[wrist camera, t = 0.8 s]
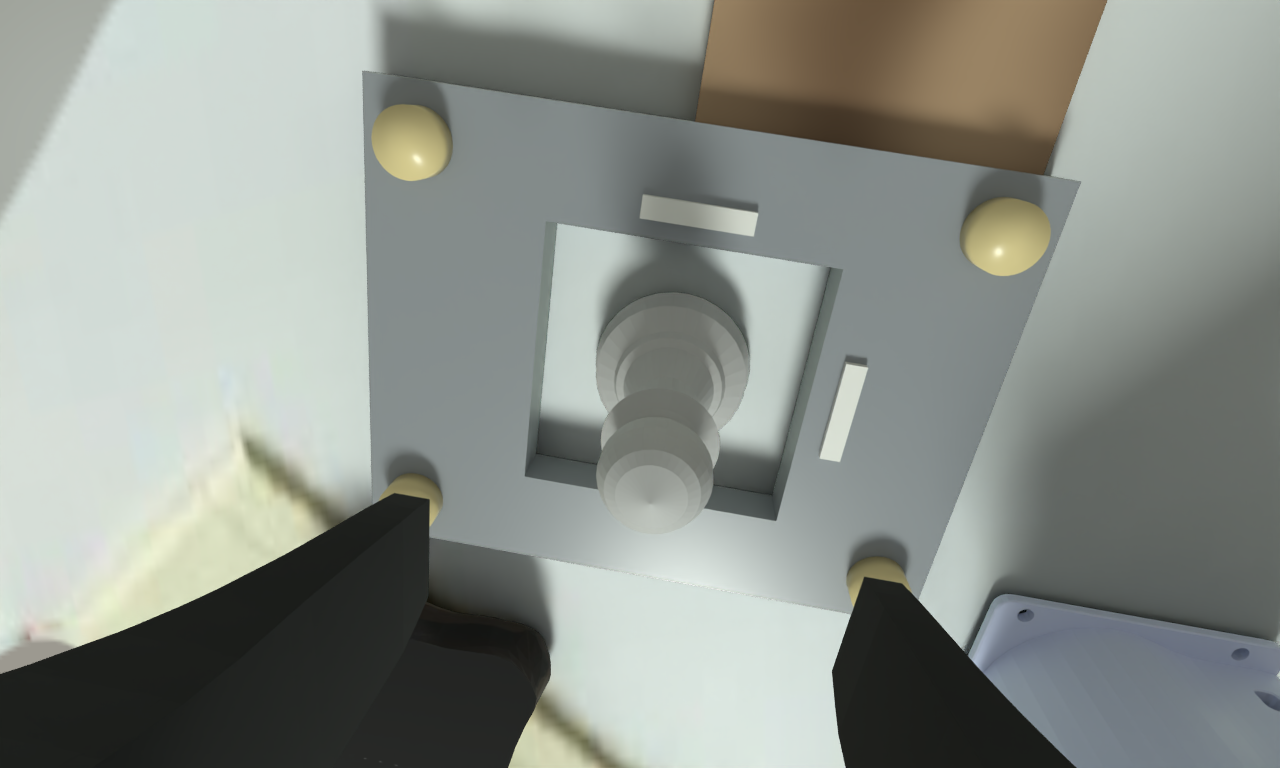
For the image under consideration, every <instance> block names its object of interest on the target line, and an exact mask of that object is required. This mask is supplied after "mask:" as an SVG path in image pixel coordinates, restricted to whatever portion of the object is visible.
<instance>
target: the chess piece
mask: <svg viewBox="0 0 1280 768" xmlns="http://www.w3.org/2000/svg"><path fill="white" fill-rule="evenodd" d="M749 372H750V364H749V353H748V349H747V345H746V342H745V340H744V338H743V336H742V333H741V331H740V329H739V328H738V327H737V325H736V324H735V323H734V321H733V320H732V319H731V317H729V316H728V315H727V314H726V313H725V312H724V311H723V310H721V309H720V308H719V307H718V306H716V305H714V304H712V303H711V302H709V301H707V300H705V299H703V298H700V297H697V296H694V295H691V294H685V293H677V292H668V293H657V294H653V295H649V296H645V297H643V298H640V299H638V300H636V301H634V302H632V303H630V304H629V305H627V306H626V307H625V308H623V309H622V310H621V311H619V312H618V313H617V314H616V315H615V317H614V318H613V319H612V320H611V321H610V322H609V323H608V325H607V327H606V329H605V330H604V332H603V334H602V336H601V339H600V342H599V345H598V348H597V356H596V380H597V389H598V392H599V395H600V398H601V401H602V403H603V405H604V406H605V408H606V410H607V412H608V413H609V414H608V416H607V417H606V419H605V421H604V424H603V427H602V431H601V448H602V452H601V455H600V458H599V461H598V464H597V471H596V479H597V486H598V490H599V493H600V496H601V499H602V501H603V502H604V504H605V506H606V507H607V509H608V510H609V511H610V513H611V514H612V515H613V516H614V517H615V518H616V519H617V520H618V521H620V522H621V523H622V524H623V525H625V526H627V527H628V528H630V529H632V530H635V531H638V532H641V533H647V534H664V533H669V532H672V531H675V530H677V529H680V528H682V527H683V526H685V525H687V524H688V523H690V522H691V521H693V520H694V519H695V518H696V517H697V516H698V515H699V514H700V513H701V511H702V510H703V509H704V507H705V506H706V504H707V503H708V500H709V498H710V496H711V493H712V488H713V468H714V466H715V464H716V462H717V459H718V456H719V451H720V436H719V432H718V431H719V430H720V429H721V428H722V427H723V426H725V425H726V424H727V423H728V422H729V421H730V420H731V418H732V417H733V415H734V414H735V412H736V411H737V410H738V408H739V405H740V403H741V401H742V398H743V395H744V391H745V389H746V386H747V383H748V377H749Z"/></svg>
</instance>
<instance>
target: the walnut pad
mask: <svg viewBox="0 0 1280 768" xmlns="http://www.w3.org/2000/svg"><path fill="white" fill-rule="evenodd" d="M1106 3H1107V0H715V1H714V7H713V13H712V20H711V26H710V32H709V38H708V44H707V50H706V57H705V63H704V69H703V75H702V81H701V87H700V94H699V100H698V106H697V112H696V118H695V122H701V123H708V124H714V125H721V126H727V127H734V128H740V129H747V130H753V131H760V132H766V133H773V134H779V135H786V136H792V137H798V138H805V139H811V140H818V141H824V142H831V143H837V144H844V145H850V146H857V147H863V148H870V149H876V150H883V151H889V152H896V153H902V154H909V155H915V156H922V157H928V158H935V159H941V160H947V161H954V162H960V163H967V164H973V165H980V166H986V167H993V168H999V169H1006V170H1012V171H1019V172H1025V173H1032V174H1038V175H1043V174H1044V172H1045V169H1046V166H1047V164H1048V161H1049V158H1050V155H1051V153H1052V150H1053V147H1054V144H1055V142H1056V139H1057V136H1058V134H1059V131H1060V128H1061V125H1062V123H1063V120H1064V117H1065V114H1066V112H1067V109H1068V106H1069V104H1070V101H1071V98H1072V95H1073V93H1074V90H1075V87H1076V84H1077V82H1078V79H1079V76H1080V74H1081V71H1082V68H1083V65H1084V63H1085V60H1086V57H1087V54H1088V52H1089V49H1090V46H1091V44H1092V41H1093V38H1094V35H1095V33H1096V30H1097V27H1098V24H1099V22H1100V19H1101V16H1102V14H1103V11H1104V8H1105V5H1106Z"/></svg>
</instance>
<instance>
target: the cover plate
mask: <svg viewBox="0 0 1280 768" xmlns="http://www.w3.org/2000/svg"><path fill="white" fill-rule="evenodd" d="M362 76H363V120H364V164H365V208H366V252H367V296H368V341H369V385H370V429H371V473H372V505H373V504H375V503H376V502H378V501H380V500H382V499H384V498H386V497H387V496H389V495H391V494H393V493H398V494H404V495H409V496H415V497H420V498H426V499H430V523H429V537H430V538H436V539H441V540H447V541H452V542H458V543H463V544H469V545H474V546H480V547H485V548H491V549H496V550H501V551H507V552H512V553H518V554H523V555H529V556H534V557H540V558H545V559H551V560H556V561H562V562H567V563H573V564H578V565H584V566H589V567H595V568H600V569H606V570H611V571H617V572H622V573H628V574H633V575H639V576H644V577H650V578H655V579H661V580H666V581H672V582H677V583H683V584H688V585H694V586H699V587H705V588H710V589H716V590H721V591H726V592H732V593H737V594H743V595H748V596H754V597H759V598H765V599H770V600H776V601H781V602H787V603H792V604H798V605H803V606H809V607H814V608H820V609H825V610H831V611H836V612H842V613H847V614H852V611H853V608H854V605H855V602H856V599H857V596H858V593H859V590H860V587H861V584H862V581H863V579H864V577H869V578H875V579H881V580H886V581H892V582H898V583H902V584H903V585H904V586H905V587H906V588H907V589H908V590H909V591H910V592H911V593H912V594H913V595H914V596H915V597H916V598H917V599H919V596H920V594H921V591H922V589H923V586H924V583H925V581H926V578H927V576H928V573H929V571H930V568H931V566H932V563H933V560H934V558H935V555H936V553H937V550H938V548H939V545H940V542H941V540H942V537H943V535H944V532H945V530H946V527H947V524H948V522H949V519H950V517H951V514H952V512H953V509H954V507H955V504H956V501H957V499H958V496H959V494H960V491H961V489H962V486H963V483H964V481H965V478H966V476H967V473H968V471H969V468H970V466H971V463H972V460H973V458H974V455H975V453H976V450H977V448H978V445H979V442H980V440H981V437H982V435H983V432H984V430H985V427H986V425H987V422H988V419H989V417H990V414H991V412H992V409H993V407H994V404H995V401H996V399H997V396H998V394H999V391H1000V389H1001V386H1002V383H1003V381H1004V378H1005V376H1006V373H1007V371H1008V368H1009V366H1010V363H1011V360H1012V358H1013V355H1014V353H1015V350H1016V348H1017V345H1018V342H1019V340H1020V337H1021V335H1022V332H1023V330H1024V327H1025V325H1026V322H1027V319H1028V317H1029V314H1030V312H1031V309H1032V307H1033V304H1034V301H1035V299H1036V296H1037V294H1038V291H1039V289H1040V286H1041V284H1042V281H1043V278H1044V276H1045V273H1046V271H1047V268H1048V266H1049V263H1050V260H1051V258H1052V255H1053V253H1054V250H1055V248H1056V245H1057V242H1058V240H1059V237H1060V235H1061V232H1062V230H1063V227H1064V225H1065V222H1066V219H1067V217H1068V214H1069V212H1070V209H1071V207H1072V204H1073V201H1074V199H1075V196H1076V194H1077V191H1078V189H1079V186H1080V184H1081V182H1080V181H1075V180H1069V179H1064V178H1058V177H1053V176H1047V175H1038V174H1032V173H1025V172H1019V171H1012V170H1006V169H999V168H993V167H986V166H980V165H973V164H967V163H960V162H954V161H947V160H941V159H935V158H928V157H922V156H915V155H909V154H902V153H896V152H889V151H883V150H876V149H870V148H863V147H857V146H850V145H844V144H837V143H831V142H824V141H818V140H811V139H805V138H798V137H792V136H786V135H779V134H773V133H766V132H760V131H753V130H747V129H740V128H734V127H727V126H721V125H714V124H708V123H701V122H695V121H690V120H684V119H677V118H671V117H664V116H658V115H651V114H645V113H639V112H632V111H626V110H619V109H613V108H606V107H600V106H593V105H587V104H580V103H574V102H567V101H561V100H554V99H548V98H541V97H535V96H528V95H522V94H515V93H509V92H502V91H496V90H489V89H483V88H477V87H470V86H464V85H457V84H451V83H444V82H438V81H431V80H425V79H418V78H412V77H405V76H399V75H392V74H385V73H377V72H369V71H362ZM557 223H560V224H566V225H572V226H578V227H584V228H590V229H597V230H603V231H609V232H615V233H621V234H628V235H634V236H640V237H646V238H652V239H658V240H665V241H671V242H677V243H683V244H689V245H696V246H702V247H708V248H714V249H720V250H726V251H733V252H739V253H745V254H751V255H757V256H764V257H770V258H776V259H782V260H788V261H794V262H801V263H807V264H813V265H819V266H825V267H831V270H830V274H829V278H828V282H827V286H826V290H825V293H824V297H823V301H822V305H821V309H820V313H819V317H818V320H817V324H816V328H815V332H814V336H813V340H812V344H811V348H810V351H809V355H808V359H807V363H806V367H805V371H804V375H803V378H802V382H801V386H800V390H799V394H798V398H797V402H796V405H795V409H794V413H793V417H792V421H791V425H790V429H789V433H788V436H787V440H786V444H785V448H784V452H783V456H782V460H781V463H780V467H779V471H778V475H777V479H776V483H775V487H774V491H773V494H772V495H767V494H761V493H756V492H750V491H744V490H738V489H733V488H727V487H721V486H716V485H713V488H712V493H711V496H710V498H709V500H708V503H707V504H706V506H705V507H704V509H703V510H702V511H701V513H700V514H699V515H698V516H697V517H696V518H695V519H694V520H693V521H691V522H690V523H688V524H687V525H685V526H683V527H682V528H680V529H677V530H675V531H672V532H669V533H664V534H647V533H641V532H638V531H635V530H632V529H630V528H628V527H627V526H625V525H623V524H622V523H621V522H620V521H618V520H617V519H616V518H615V517H614V516H613V515H612V514H611V513H610V511H609V510H608V509H607V507H606V506H605V504H604V502H603V501H602V499H601V496H600V493H599V490H598V486H597V479H596V471H597V465H596V464H591V463H585V462H579V461H574V460H568V459H562V458H557V457H551V456H545V455H540V454H536V451H537V440H538V429H539V418H540V407H541V396H542V384H543V373H544V362H545V351H546V340H547V329H548V318H549V307H550V296H551V285H552V274H553V262H554V251H555V240H556V229H557Z"/></svg>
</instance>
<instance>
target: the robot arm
mask: <svg viewBox="0 0 1280 768" xmlns="http://www.w3.org/2000/svg"><path fill="white" fill-rule="evenodd" d="M429 523H430V499H426V498H420V497H415V496H409V495H404V494H398V493H393V494H391V495H389V496H387V497H386V498H384V499H382V500H380V501H378V502H376V503H375V504H373V505H371V506H369V507H368V508H366V509H364V510H362V511H361V512H359V513H357V514H356V515H354V516H352V517H350V518H349V519H347V520H345V521H343V522H342V523H340V524H338V525H337V526H335V527H333V528H331V529H330V530H328V531H326V532H324V533H323V534H321V535H319V536H317V537H315V538H314V539H312V540H310V541H308V542H307V543H305V544H303V545H301V546H299V547H298V548H296V549H294V550H292V551H291V552H289V553H287V554H285V555H283V556H281V557H279V558H278V559H276V560H274V561H272V562H270V563H268V564H266V565H264V566H262V567H260V568H258V569H256V570H254V571H252V572H250V573H248V574H246V575H244V576H242V577H240V578H238V579H236V580H235V581H233V582H231V583H229V584H227V585H225V586H223V587H221V588H219V589H217V590H215V591H213V592H210V593H208V594H206V595H204V596H202V597H200V598H198V599H195V600H193V601H191V602H189V603H187V604H184V605H182V606H180V607H178V608H175V609H173V610H171V611H168V612H166V613H164V614H161V615H159V616H156V617H154V618H152V619H149V620H147V621H145V622H142V623H140V624H138V625H135V626H133V627H130V628H128V629H125V630H123V631H120V632H118V633H115V634H112V635H109V636H107V637H104V638H101V639H98V640H96V641H93V642H90V643H87V644H85V645H82V646H79V647H76V648H74V649H71V650H68V651H66V652H63V653H60V654H57V655H54V656H52V657H49V658H46V659H43V660H41V661H38V662H35V663H33V664H30V665H27V666H24V667H21V668H18V669H15V670H11V671H9V672H5V673H2V674H0V768H333V767H334V765H335V764H336V762H337V760H338V759H339V757H340V756H341V754H342V752H343V751H344V749H345V747H346V746H347V744H348V743H349V741H350V739H351V738H352V736H353V734H354V733H355V731H356V729H357V728H358V726H359V725H360V723H361V721H362V720H363V718H364V716H365V715H366V713H367V712H368V710H369V708H370V707H371V705H372V703H373V702H374V700H375V699H376V697H377V695H378V694H379V692H380V690H381V689H382V687H383V685H384V684H385V682H386V680H387V679H388V677H389V675H390V674H391V672H392V670H393V669H394V667H395V665H396V664H397V662H398V660H399V659H400V657H401V655H402V654H403V652H404V650H405V647H406V645H407V643H408V641H409V639H410V637H411V635H412V632H413V630H414V628H415V626H416V624H417V621H418V619H419V617H420V615H421V612H422V610H423V608H424V605H425V603H426V601H427V599H428V588H429ZM1025 609H1028V610H1027V611H1026V612H1024V613H1020V614H1018V613H1019V612H1020V611H1022V610H1025ZM1279 671H1280V646H1279V645H1278V644H1277V643H1276V642H1273V641H1270V640H1265V639H1259V638H1254V637H1248V636H1242V635H1237V634H1231V633H1226V632H1220V631H1215V630H1209V629H1203V628H1198V627H1192V626H1187V625H1181V624H1176V623H1170V622H1164V621H1159V620H1153V619H1148V618H1142V617H1136V616H1131V615H1125V614H1120V613H1114V612H1109V611H1103V610H1097V609H1092V608H1086V607H1081V606H1075V605H1070V604H1064V603H1058V602H1053V601H1047V600H1042V599H1036V598H1031V597H1025V596H1019V595H1014V594H1004V595H1000V596H998V597H997V598H995V599H994V600H993V602H992V603H991V605H990V607H989V610H988V612H987V614H986V616H985V619H984V621H983V623H982V625H981V627H980V630H979V632H978V634H977V636H976V639H975V641H974V643H973V645H972V648H971V650H970V652H969V654H968V656H967V655H966V653H965V652H964V651H963V650H962V649H961V648H960V647H959V646H958V644H957V643H956V642H955V641H954V640H953V639H952V638H951V637H950V635H949V634H948V633H947V632H946V631H945V630H944V629H943V628H942V626H941V625H940V624H939V623H938V622H937V621H936V620H935V619H934V617H933V616H932V615H931V614H930V613H929V612H928V611H927V610H926V608H925V607H924V606H923V605H922V604H921V603H920V602H919V601H918V599H917V598H916V597H915V596H914V595H913V594H912V593H911V592H910V591H909V590H908V589H907V588H906V587H905V586H904V585H903V584H902V583H898V582H892V581H886V580H881V579H875V578H869V577H864V579H863V581H862V584H861V587H860V590H859V593H858V596H857V599H856V602H855V605H854V608H853V611H852V614H851V617H850V620H849V623H848V626H847V629H846V631H845V634H844V637H843V640H842V643H841V646H840V649H839V652H838V655H837V658H836V661H835V664H834V667H833V670H832V676H833V687H834V698H835V708H836V717H837V726H838V734H839V739H840V744H841V748H842V753H843V757H844V762H845V766H846V768H1280V679H1279V678H1278V677H1277V676H1276V675H1277V674H1278V673H1279Z"/></svg>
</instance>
